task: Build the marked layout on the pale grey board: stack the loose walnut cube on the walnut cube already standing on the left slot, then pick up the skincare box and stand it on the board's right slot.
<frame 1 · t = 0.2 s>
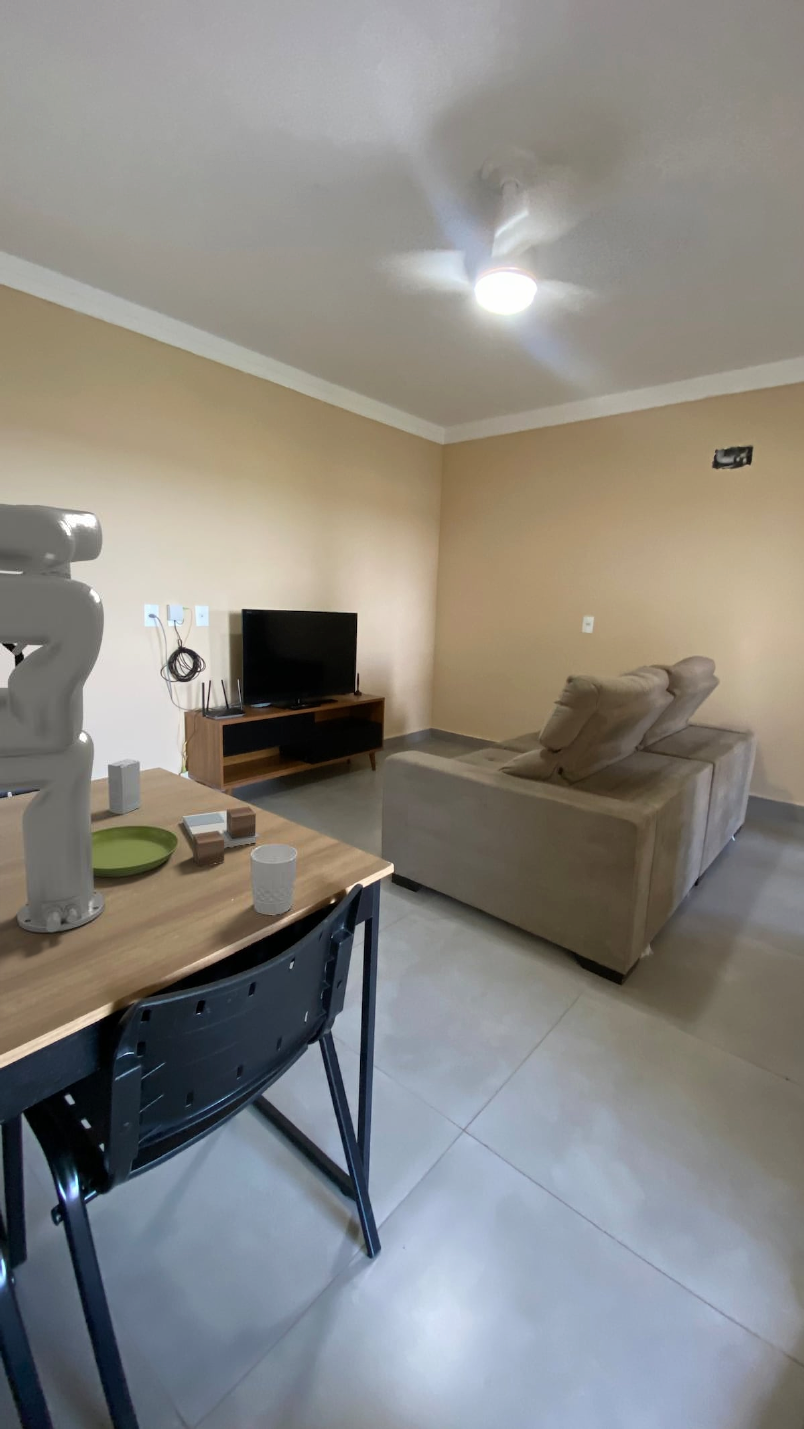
hand: (53, 675, 111), 36 cm above the table, tool pointing down, fingers open, 9 cm apart
build board: (218, 832, 134), on the table
skincare box: (125, 810, 144), on the table
block b: (208, 859, 120), on the table
green plate: (124, 860, 119), on the table
white cup: (273, 907, 104), on the table
block a: (240, 833, 130), point 2 cm above the table, touching build board
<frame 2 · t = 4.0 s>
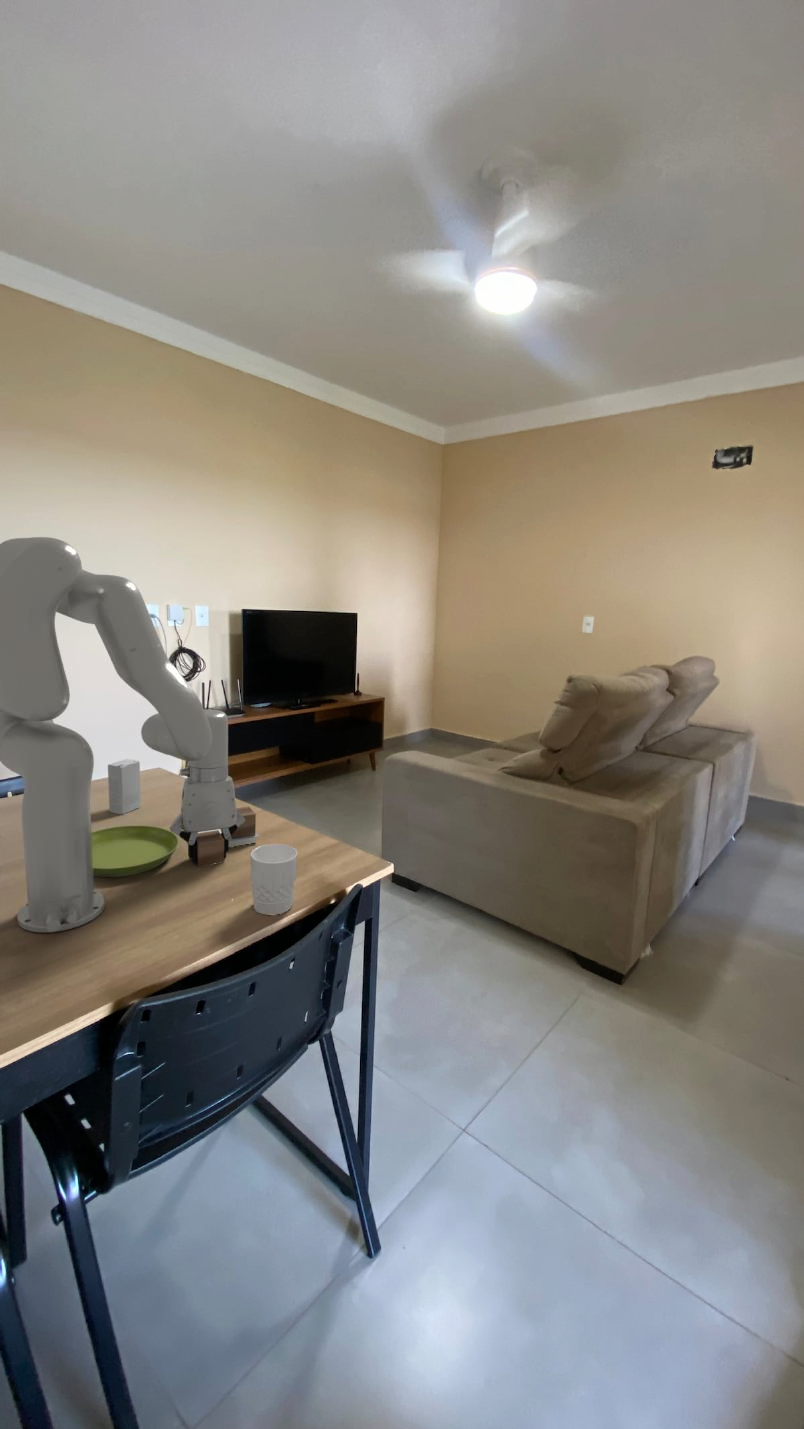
hand: (208, 857, 120), 0 cm above the table, tool pointing down, fingers closed on block b, 5 cm apart
block b: (208, 859, 120), on the table, touching gripper
everything else where it was.
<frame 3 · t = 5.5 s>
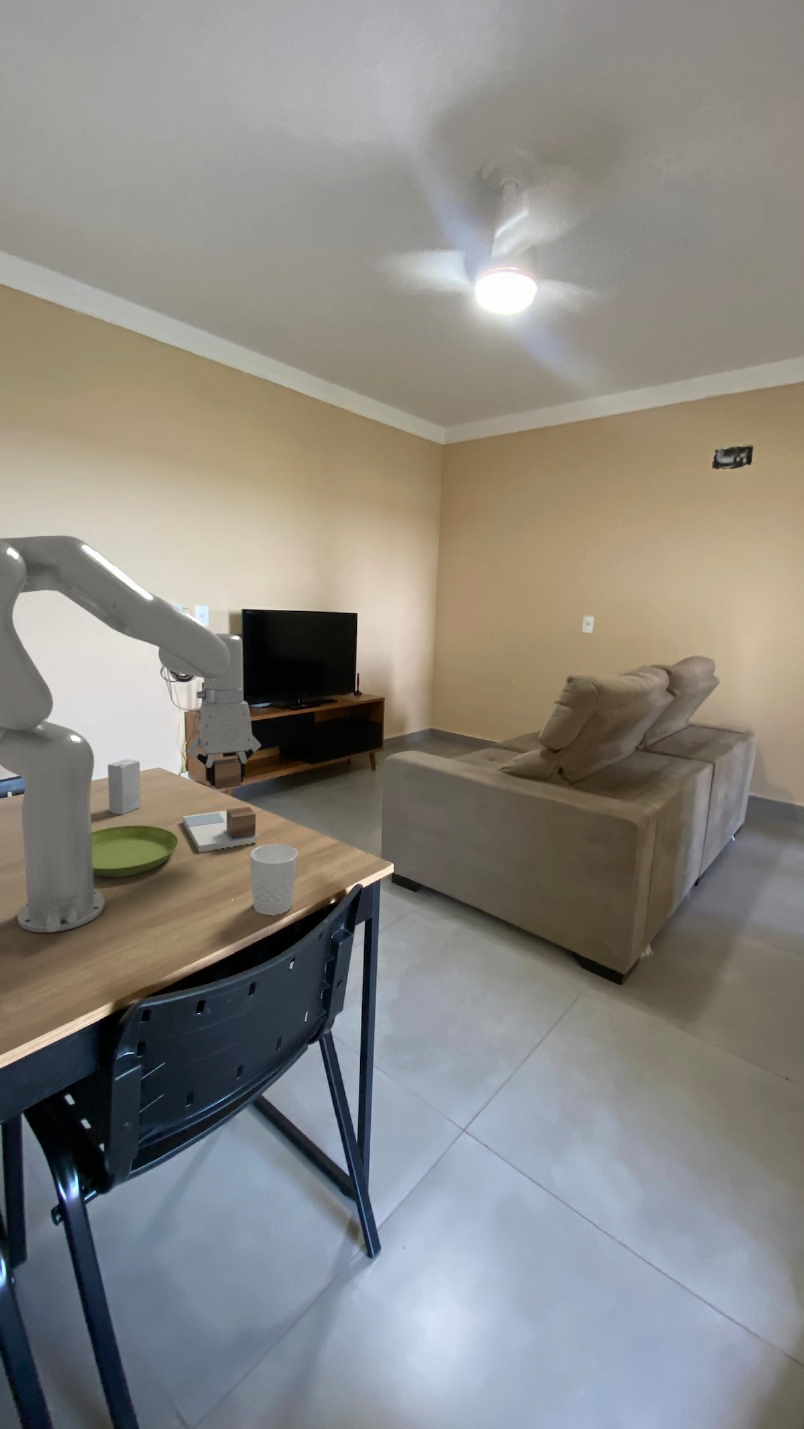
hand: (225, 781, 122), 15 cm above the table, tool pointing down, fingers closed on block b, 5 cm apart
block b: (225, 783, 122), point 15 cm above the table, touching gripper
everything else where it was.
when the fingers open (8 cm above the table, at t = 7.4 s): block b stays where it is, resting on block a.
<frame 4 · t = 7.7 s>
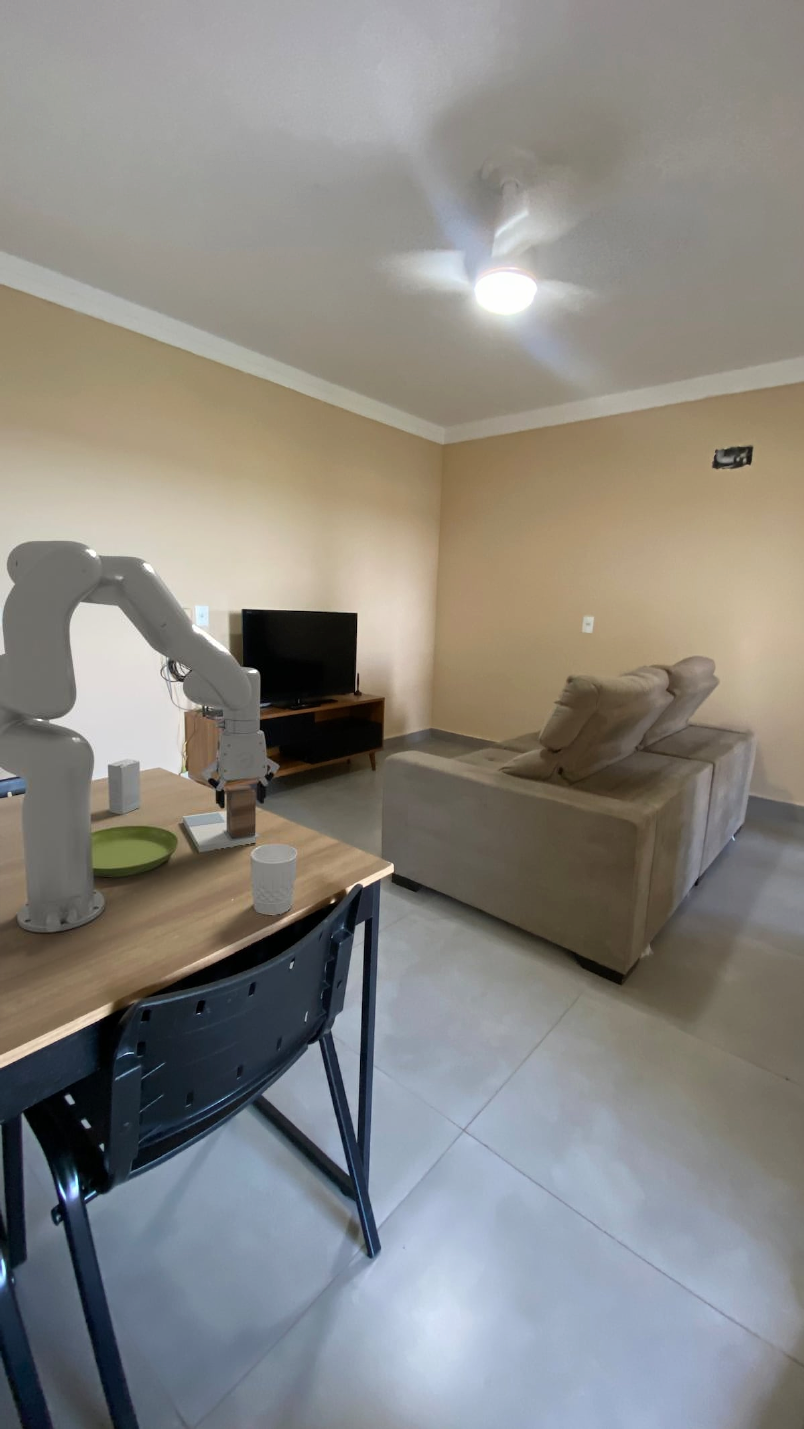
hand: (241, 803, 129), 8 cm above the table, tool pointing down, fingers open, 8 cm apart
block b: (240, 811, 129), point 7 cm above the table, touching block a
block a: (240, 833, 130), point 2 cm above the table, touching block b, build board
everything else where it was.
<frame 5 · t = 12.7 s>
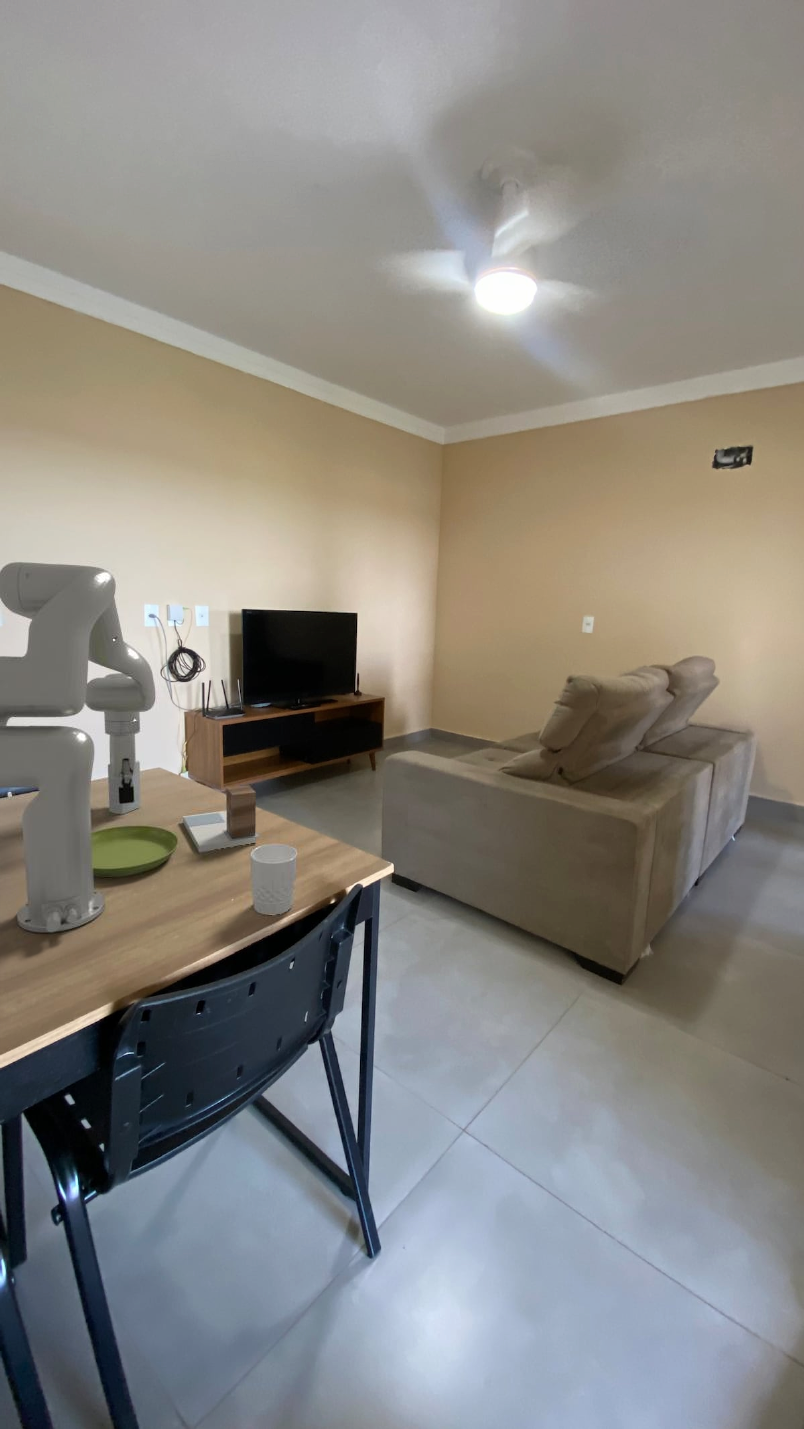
hand: (124, 797, 143), 3 cm above the table, tool pointing down, fingers closed on skincare box, 6 cm apart
skincare box: (125, 810, 144), on the table, touching gripper
everything else where it was.
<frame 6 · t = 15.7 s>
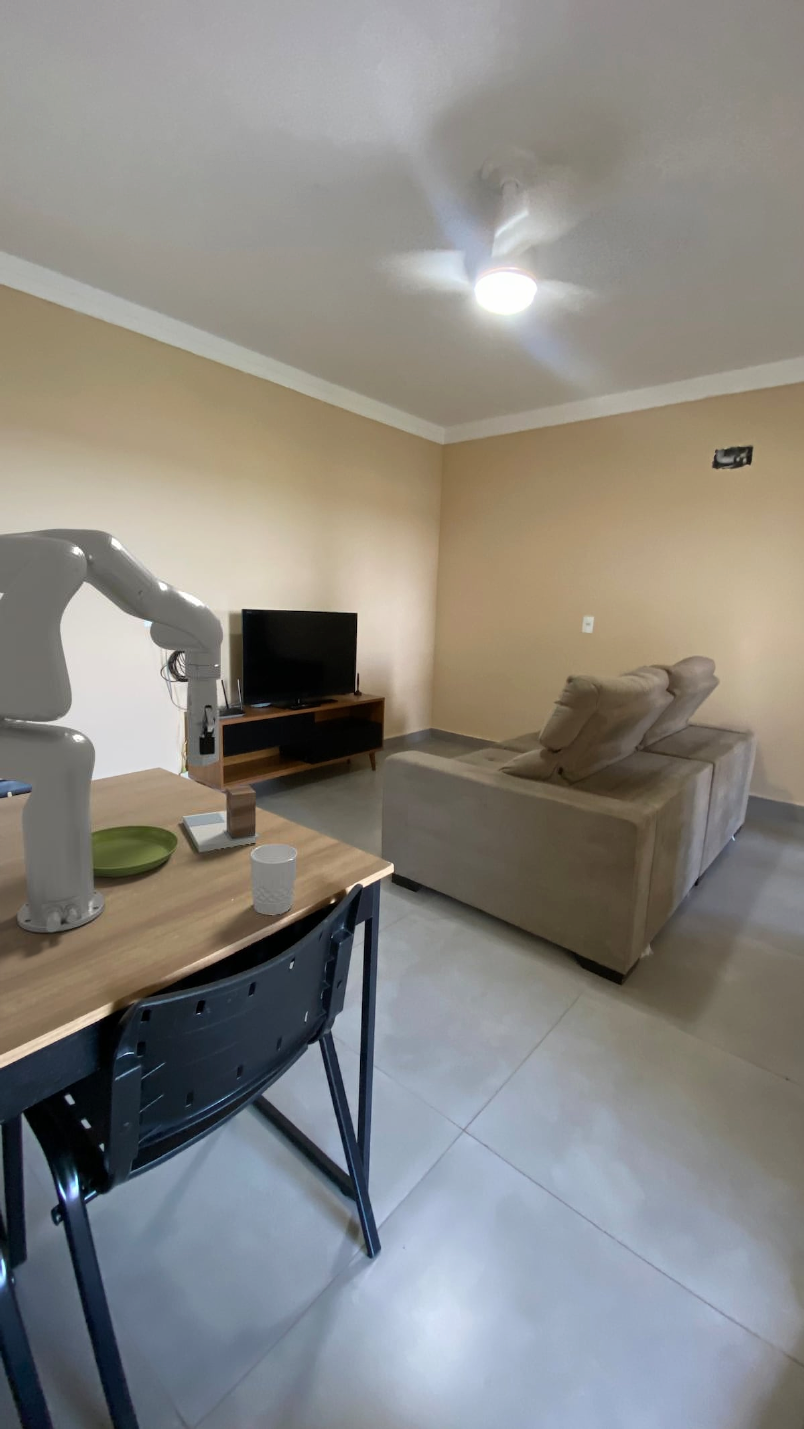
hand: (203, 749, 133), 18 cm above the table, tool pointing down, fingers closed on skincare box, 6 cm apart
skincare box: (203, 764, 134), point 15 cm above the table, touching gripper
everything else where it was.
when the fingers open (6 cm above the table, at t = 18.6 s): skincare box stays where it is, resting on build board.
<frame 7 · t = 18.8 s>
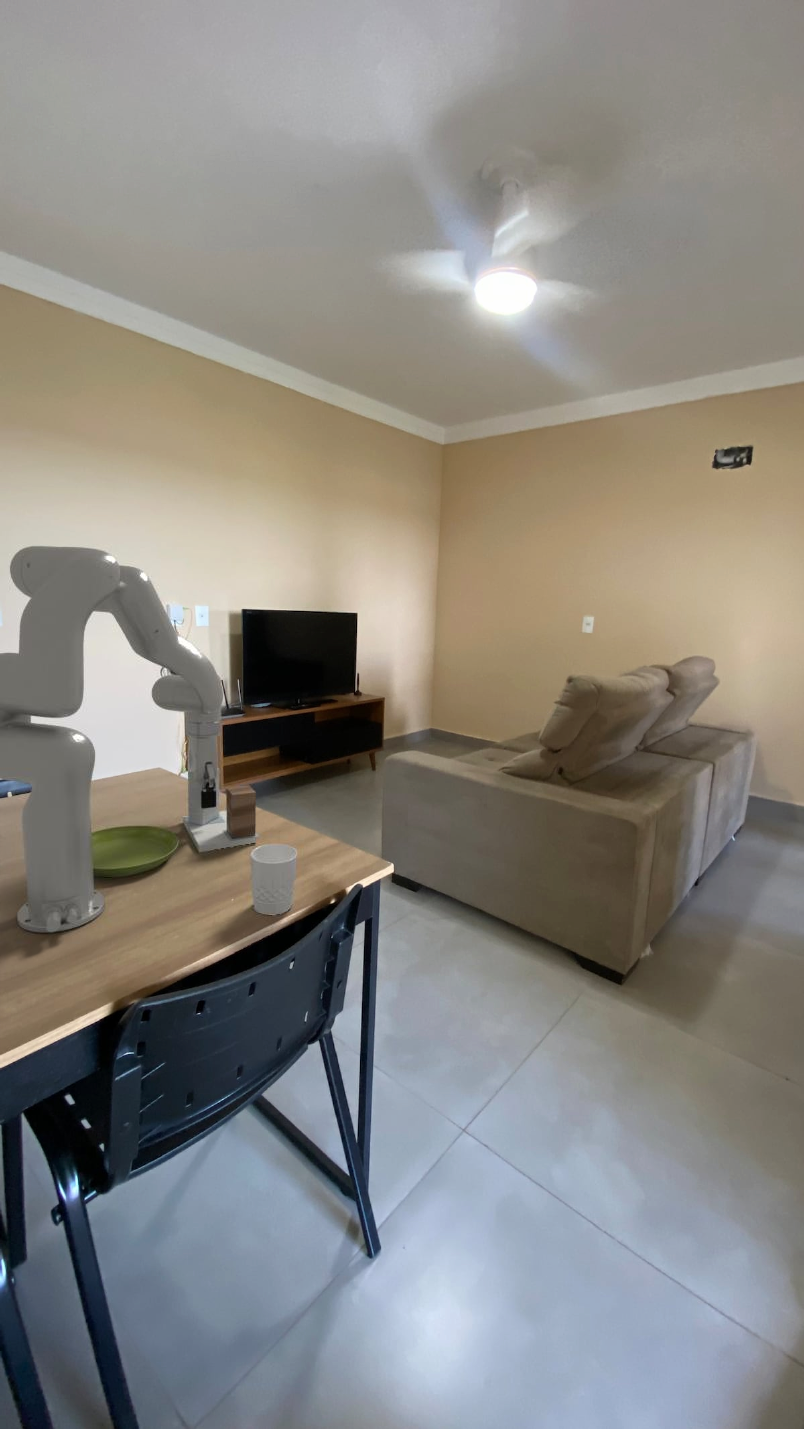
hand: (204, 800, 136), 6 cm above the table, tool pointing down, fingers open, 9 cm apart
skincare box: (204, 820, 136), point 1 cm above the table, touching build board
everything else where it was.
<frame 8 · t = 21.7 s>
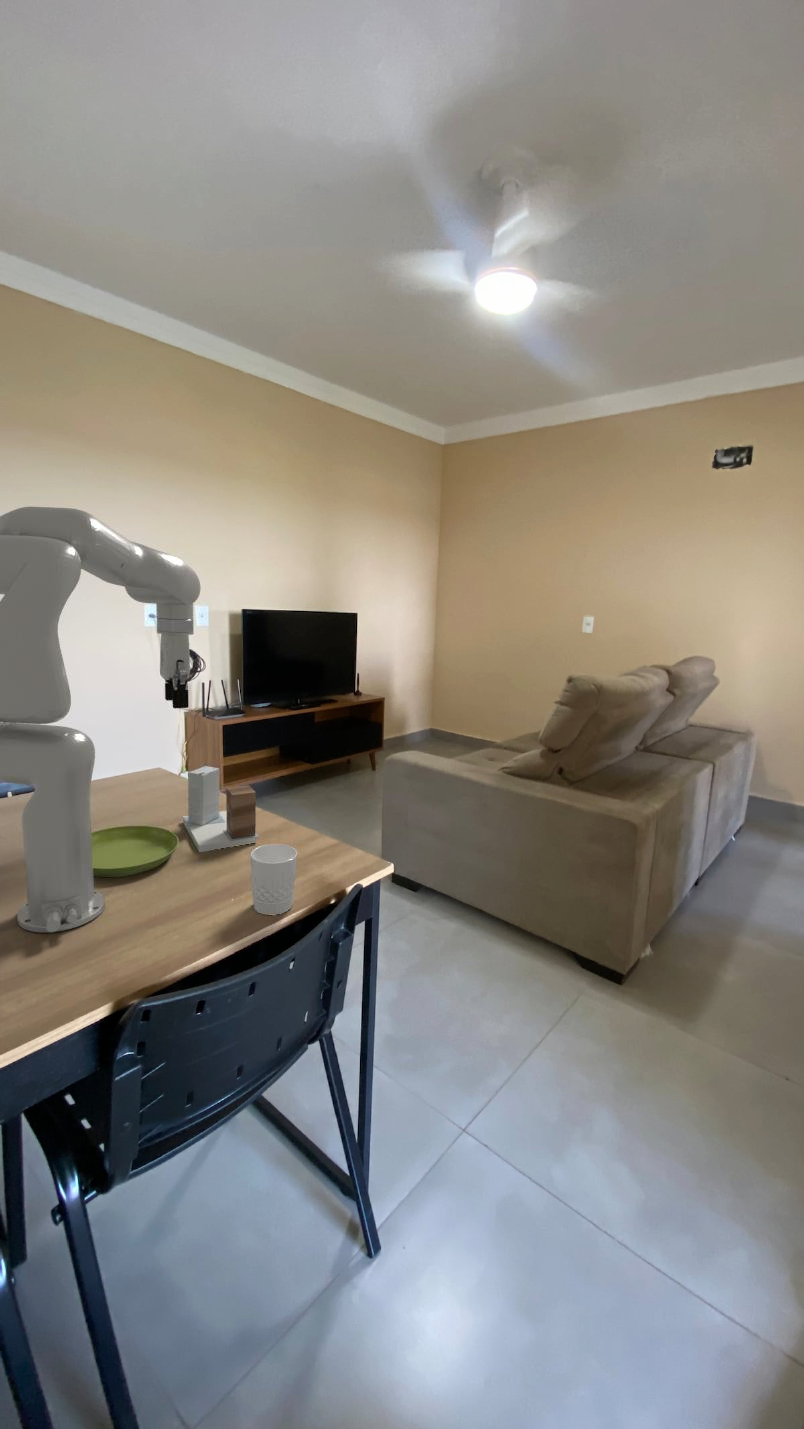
hand: (176, 703, 132), 28 cm above the table, tool pointing down, fingers open, 9 cm apart
nothing on the table moved.
at the end: block b 0.0 cm off-centre on the block a, point 5.0 cm above the block a's base; skincare box inside the target area (0.8 cm from its centre), point 1.4 cm above the table; skincare box tilted 0° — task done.
